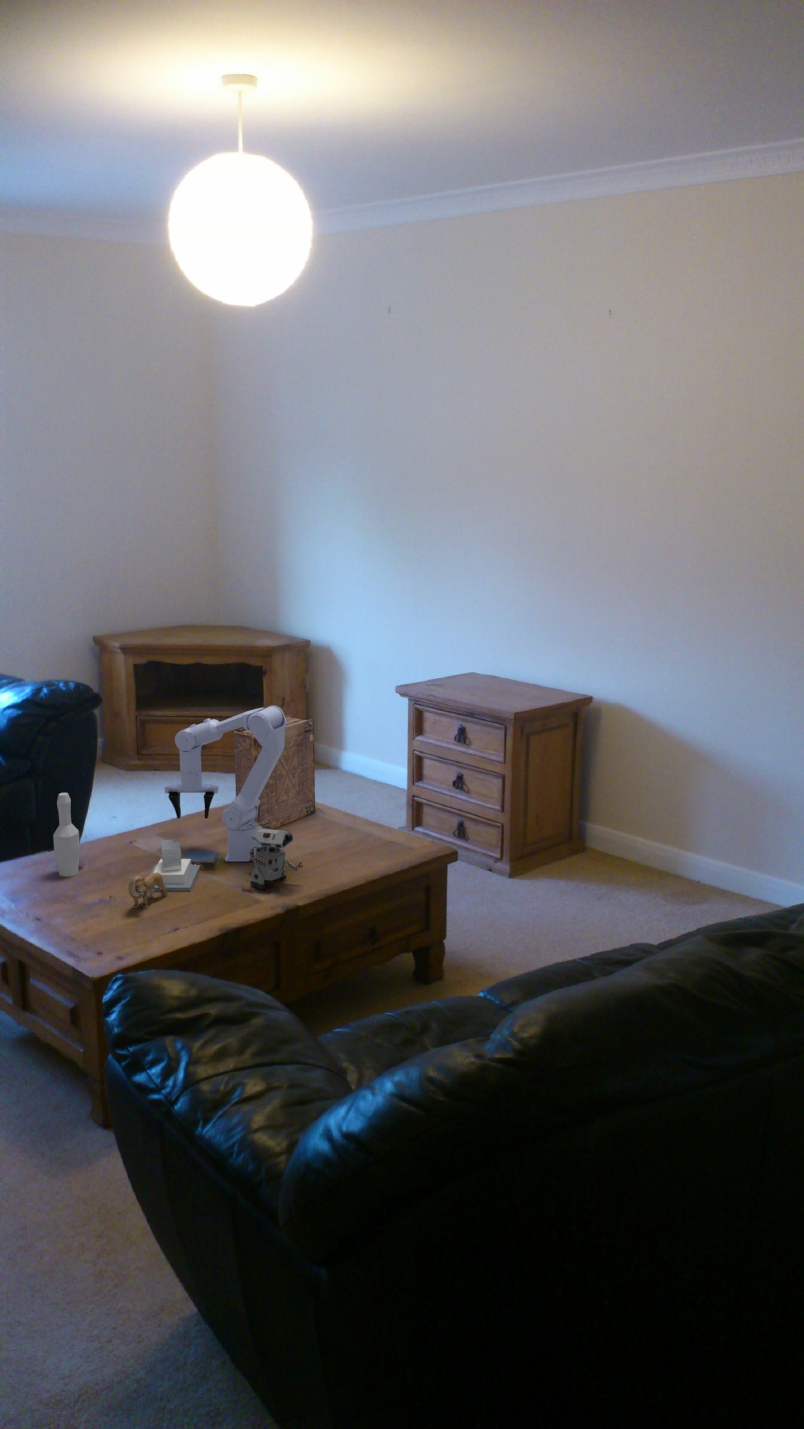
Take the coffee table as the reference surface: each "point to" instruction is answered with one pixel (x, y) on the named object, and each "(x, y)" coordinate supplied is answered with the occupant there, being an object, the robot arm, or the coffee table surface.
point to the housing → (171, 855)
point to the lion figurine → (145, 887)
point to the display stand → (178, 876)
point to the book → (281, 774)
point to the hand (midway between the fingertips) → (192, 817)
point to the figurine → (270, 856)
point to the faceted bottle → (66, 839)
